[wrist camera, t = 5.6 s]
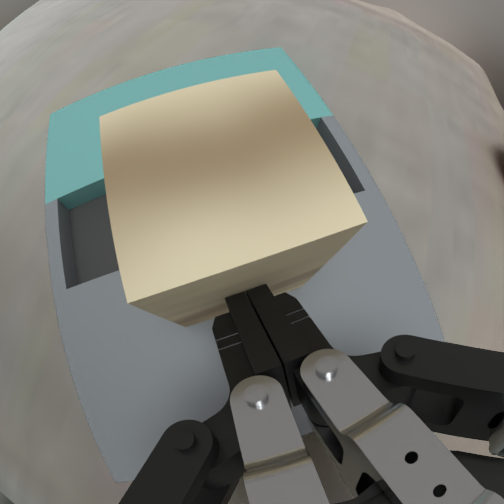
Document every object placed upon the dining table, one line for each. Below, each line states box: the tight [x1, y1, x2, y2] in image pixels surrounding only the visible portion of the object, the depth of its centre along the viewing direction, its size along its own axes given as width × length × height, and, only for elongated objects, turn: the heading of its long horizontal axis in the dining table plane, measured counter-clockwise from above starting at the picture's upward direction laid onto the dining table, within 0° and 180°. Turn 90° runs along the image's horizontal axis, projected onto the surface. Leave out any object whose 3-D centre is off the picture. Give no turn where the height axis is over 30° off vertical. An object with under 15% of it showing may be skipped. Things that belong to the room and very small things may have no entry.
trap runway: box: [45, 47, 445, 482], centre depth 17 cm, size 26×20×2 cm
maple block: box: [99, 70, 368, 327], centre depth 11 cm, size 6×6×8 cm
